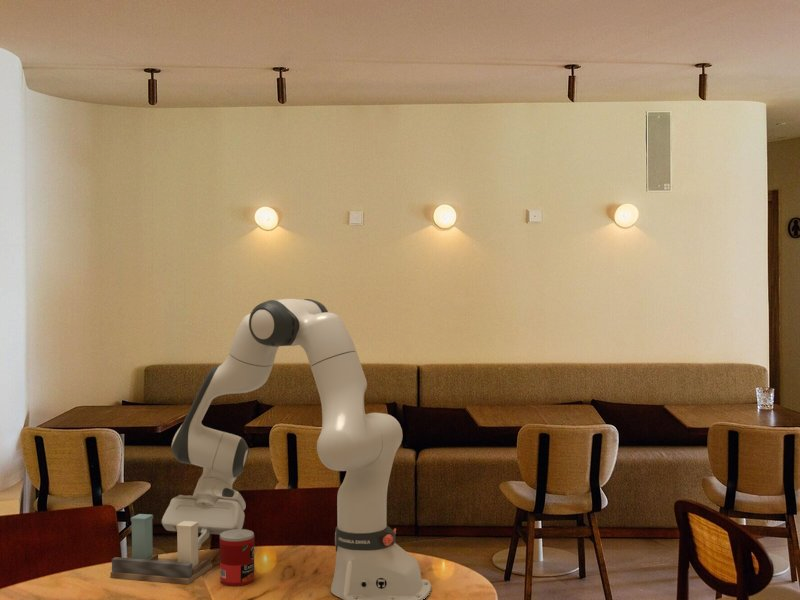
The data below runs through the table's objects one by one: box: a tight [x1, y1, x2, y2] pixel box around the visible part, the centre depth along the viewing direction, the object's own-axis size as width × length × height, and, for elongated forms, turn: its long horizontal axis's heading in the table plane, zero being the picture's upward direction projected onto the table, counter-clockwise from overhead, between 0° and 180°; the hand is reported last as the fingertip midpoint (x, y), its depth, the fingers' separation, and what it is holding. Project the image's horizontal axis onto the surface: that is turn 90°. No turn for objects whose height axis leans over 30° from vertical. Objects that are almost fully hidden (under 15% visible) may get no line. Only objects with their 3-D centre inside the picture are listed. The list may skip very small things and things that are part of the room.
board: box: [110, 553, 213, 585], centre depth 203 cm, size 20×12×4 cm, turn 76°
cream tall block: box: [176, 521, 199, 568], centre depth 201 cm, size 4×4×11 cm
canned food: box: [219, 528, 255, 587], centre depth 197 cm, size 8×8×11 cm
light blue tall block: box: [130, 513, 154, 560], centre depth 208 cm, size 4×4×11 cm
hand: (192, 547), depth 204 cm, fingers closed, pressing on cream tall block
